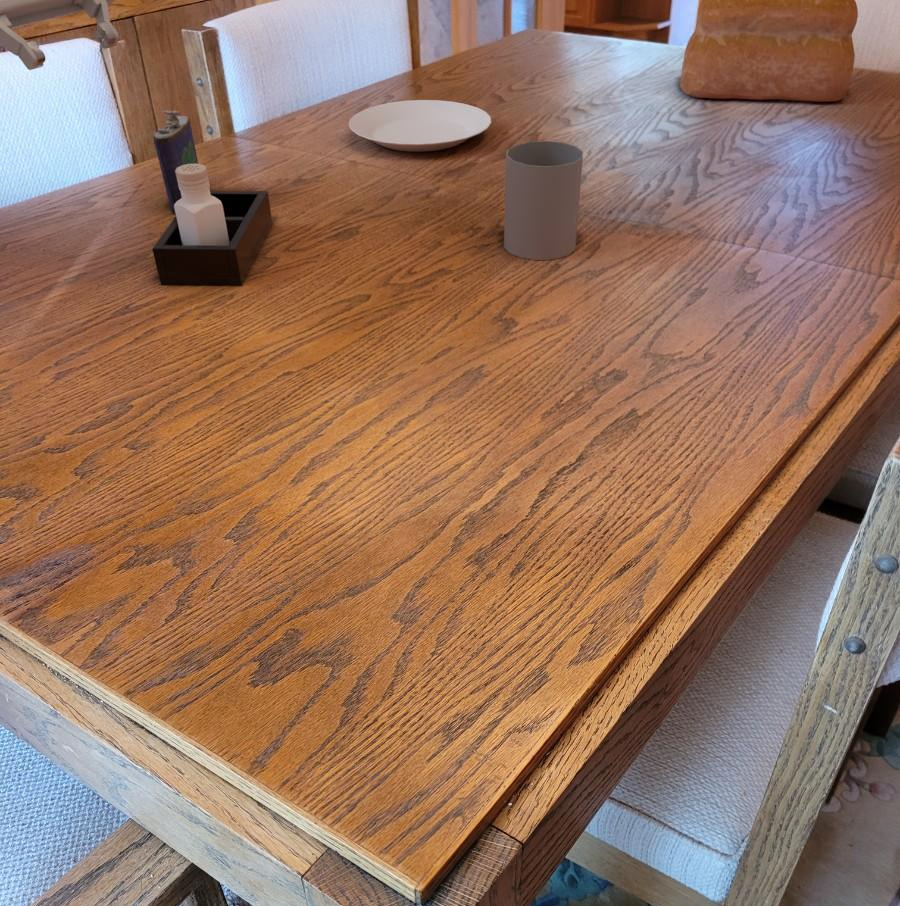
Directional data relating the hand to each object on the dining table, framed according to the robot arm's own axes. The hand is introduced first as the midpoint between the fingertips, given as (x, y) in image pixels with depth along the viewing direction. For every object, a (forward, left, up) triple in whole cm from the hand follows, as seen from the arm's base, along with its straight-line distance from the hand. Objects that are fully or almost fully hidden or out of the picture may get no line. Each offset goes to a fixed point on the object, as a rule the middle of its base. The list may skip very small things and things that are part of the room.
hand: (76, 54), depth 92 cm
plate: (+31, +41, -20) cm, 55 cm away
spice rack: (+11, -1, -20) cm, 23 cm away
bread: (+85, +64, -20) cm, 109 cm away
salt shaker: (+11, -5, -19) cm, 23 cm away
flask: (+3, +15, -20) cm, 25 cm away
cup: (+48, +2, -20) cm, 52 cm away
